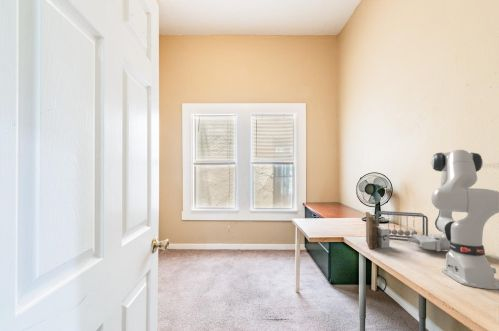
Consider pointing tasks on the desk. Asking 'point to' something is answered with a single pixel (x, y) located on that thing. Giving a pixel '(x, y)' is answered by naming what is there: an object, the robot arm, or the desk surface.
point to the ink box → (383, 236)
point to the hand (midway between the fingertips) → (408, 239)
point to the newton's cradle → (400, 224)
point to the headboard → (371, 231)
